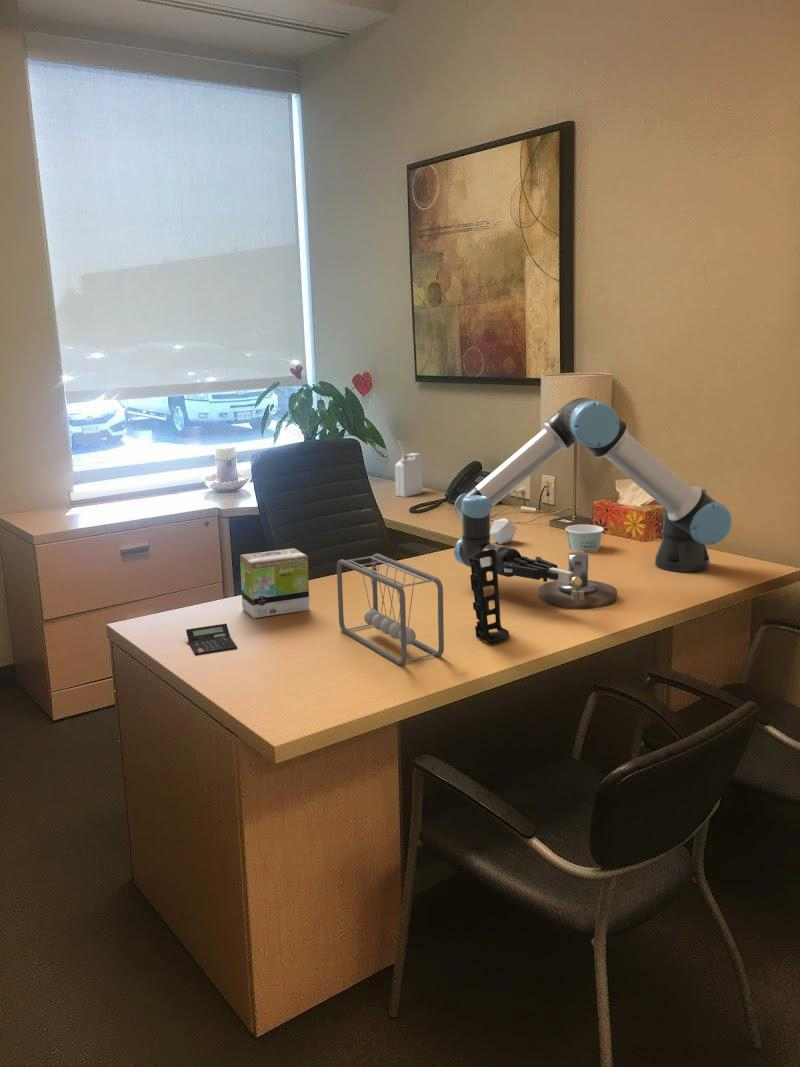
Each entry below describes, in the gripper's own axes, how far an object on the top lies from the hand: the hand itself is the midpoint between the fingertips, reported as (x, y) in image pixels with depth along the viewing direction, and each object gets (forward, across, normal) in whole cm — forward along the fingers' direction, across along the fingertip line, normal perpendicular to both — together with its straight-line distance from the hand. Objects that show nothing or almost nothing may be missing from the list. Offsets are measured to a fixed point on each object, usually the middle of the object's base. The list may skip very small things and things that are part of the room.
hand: (570, 578), depth 213 cm
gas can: (-156, -75, -10) cm, 174 cm away
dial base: (-9, -13, -10) cm, 18 cm away
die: (-66, -42, -10) cm, 79 cm away
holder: (-2, +25, -10) cm, 27 cm away
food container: (-42, -55, -10) cm, 70 cm away
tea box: (-54, +51, -10) cm, 75 cm away
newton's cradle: (-14, +45, -10) cm, 48 cm away
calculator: (-42, +75, -10) cm, 87 cm away
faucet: (-4, -7, -7) cm, 11 cm away
